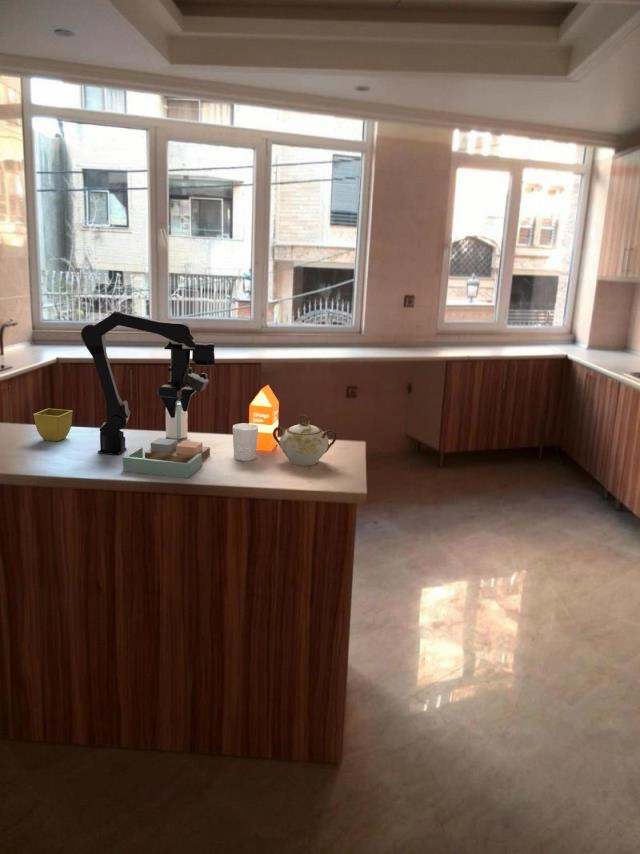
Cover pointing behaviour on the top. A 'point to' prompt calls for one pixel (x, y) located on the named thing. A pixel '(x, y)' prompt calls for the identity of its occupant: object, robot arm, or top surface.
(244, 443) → the white cup
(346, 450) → the top surface
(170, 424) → the can
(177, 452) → the terracotta tile
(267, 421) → the orange juice
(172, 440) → the slate tile
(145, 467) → the box
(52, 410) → the flower pot
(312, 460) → the sugar bowl
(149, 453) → the walnut board
